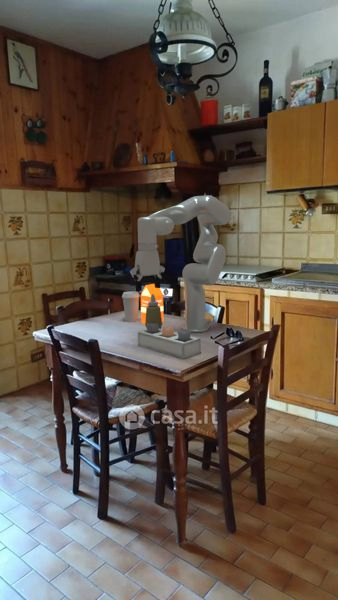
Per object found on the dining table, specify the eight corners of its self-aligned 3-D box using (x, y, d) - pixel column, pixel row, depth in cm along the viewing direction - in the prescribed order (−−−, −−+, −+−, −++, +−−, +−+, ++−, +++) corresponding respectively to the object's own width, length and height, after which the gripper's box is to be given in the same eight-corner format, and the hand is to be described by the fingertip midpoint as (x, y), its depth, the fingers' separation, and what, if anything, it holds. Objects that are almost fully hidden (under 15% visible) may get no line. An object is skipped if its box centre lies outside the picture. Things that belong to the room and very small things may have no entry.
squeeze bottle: (149, 334, 196) (148, 296, 193) (142, 331, 203) (141, 294, 200) (165, 332, 200) (164, 294, 196) (157, 328, 207) (156, 292, 204)
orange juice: (141, 323, 219) (139, 284, 215) (153, 320, 225) (152, 282, 222) (152, 325, 214) (150, 286, 210) (164, 322, 220) (163, 283, 217)
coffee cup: (140, 322, 221) (139, 293, 218) (121, 322, 221) (120, 294, 218) (141, 318, 230) (140, 290, 227) (123, 318, 230) (122, 291, 227)
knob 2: (184, 341, 170) (183, 329, 169) (193, 343, 167) (192, 331, 166) (175, 344, 167) (175, 331, 166) (184, 346, 163) (184, 334, 162)
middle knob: (168, 337, 176) (168, 325, 175) (176, 339, 173) (176, 327, 172) (159, 340, 173) (159, 328, 172) (168, 342, 170) (167, 330, 169)
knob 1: (153, 333, 183) (153, 322, 182) (161, 335, 179) (161, 324, 178) (145, 336, 179) (144, 324, 178) (152, 338, 176) (152, 326, 175)
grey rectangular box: (155, 340, 186) (155, 327, 185) (200, 353, 168) (200, 338, 167) (138, 345, 179) (137, 332, 178) (183, 359, 161) (182, 343, 160)
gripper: (158, 246, 182) (158, 286, 185) (124, 248, 171) (125, 290, 174) (169, 247, 177) (170, 288, 180) (135, 249, 166) (136, 292, 169)
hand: (148, 289), depth 177 cm, fingers open, 9 cm apart
